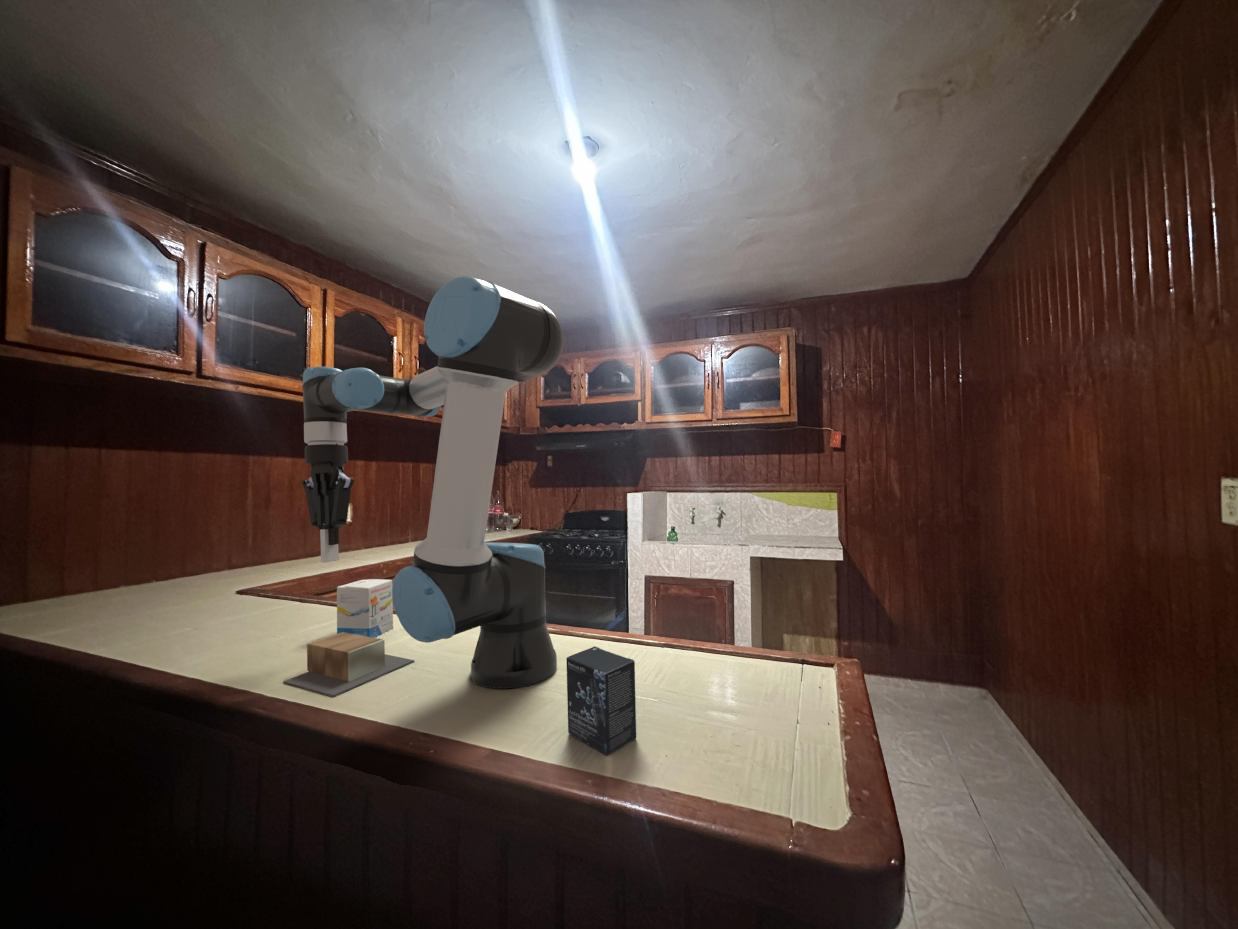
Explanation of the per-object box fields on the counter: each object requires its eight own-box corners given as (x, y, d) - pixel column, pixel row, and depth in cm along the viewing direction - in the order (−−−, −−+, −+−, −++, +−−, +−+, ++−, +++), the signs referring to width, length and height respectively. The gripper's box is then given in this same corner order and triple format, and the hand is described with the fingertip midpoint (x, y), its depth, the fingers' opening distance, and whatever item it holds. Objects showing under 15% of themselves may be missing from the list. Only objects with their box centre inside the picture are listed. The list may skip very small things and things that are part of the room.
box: (567, 735, 66) (565, 656, 66) (597, 719, 70) (595, 645, 70) (607, 758, 60) (604, 672, 60) (638, 739, 64) (635, 658, 64)
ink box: (369, 640, 107) (368, 587, 107) (335, 639, 108) (335, 586, 109) (394, 628, 115) (393, 578, 115) (363, 627, 117) (362, 578, 117)
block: (343, 657, 96) (384, 666, 91) (307, 671, 90) (349, 681, 84) (342, 632, 96) (384, 639, 91) (306, 643, 90) (349, 652, 85)
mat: (414, 661, 94) (414, 660, 94) (333, 697, 79) (333, 695, 79) (366, 651, 100) (366, 650, 100) (283, 682, 85) (283, 681, 85)
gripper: (364, 443, 99) (368, 558, 99) (323, 447, 105) (327, 557, 104) (329, 441, 93) (333, 565, 92) (287, 446, 98) (290, 563, 97)
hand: (330, 561), depth 98 cm, fingers closed
